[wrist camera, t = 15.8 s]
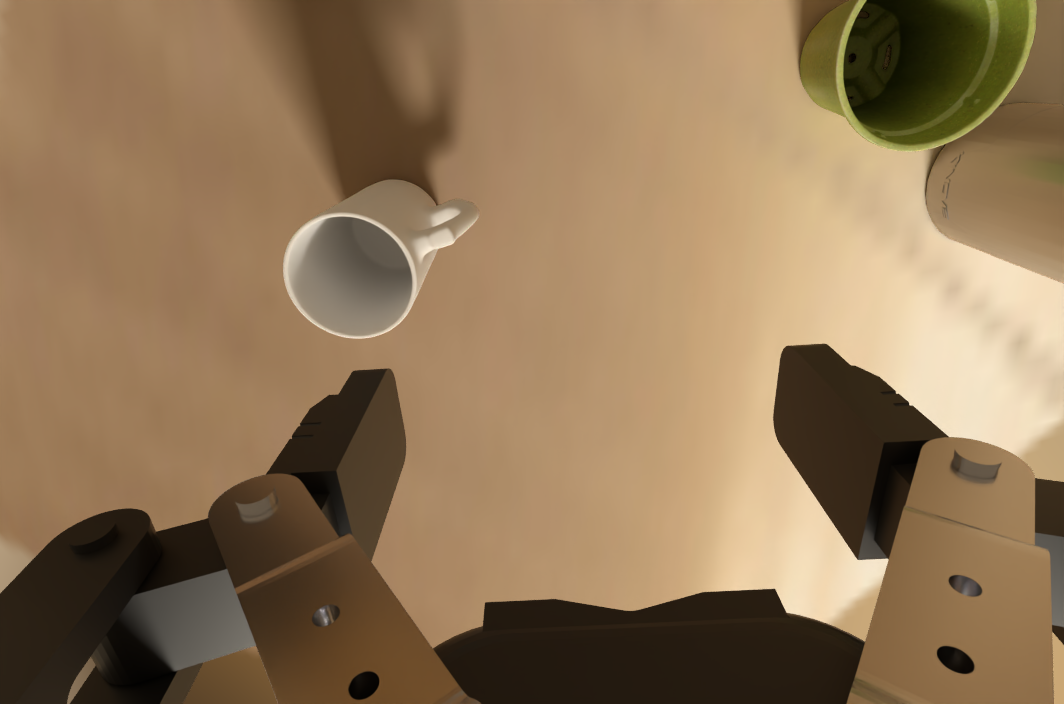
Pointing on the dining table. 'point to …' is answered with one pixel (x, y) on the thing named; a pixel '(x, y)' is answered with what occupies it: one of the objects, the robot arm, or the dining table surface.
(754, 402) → the dining table surface
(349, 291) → the mug
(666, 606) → the robot arm
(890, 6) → the plant pot
